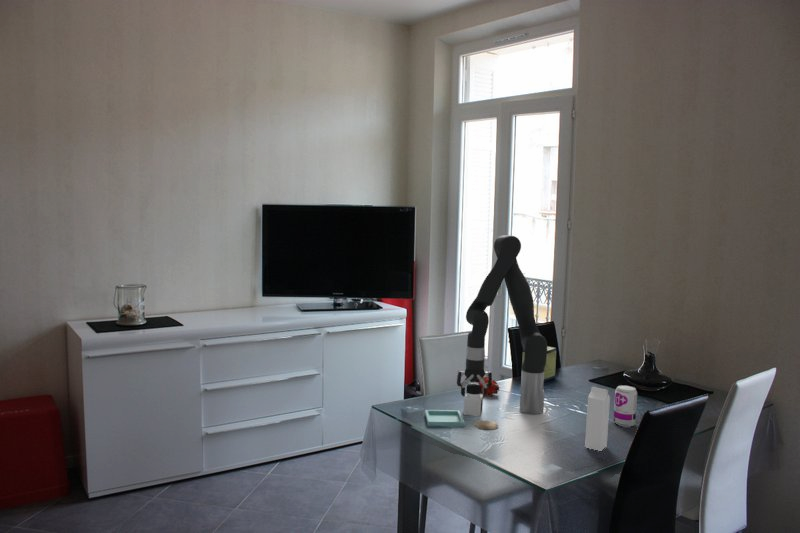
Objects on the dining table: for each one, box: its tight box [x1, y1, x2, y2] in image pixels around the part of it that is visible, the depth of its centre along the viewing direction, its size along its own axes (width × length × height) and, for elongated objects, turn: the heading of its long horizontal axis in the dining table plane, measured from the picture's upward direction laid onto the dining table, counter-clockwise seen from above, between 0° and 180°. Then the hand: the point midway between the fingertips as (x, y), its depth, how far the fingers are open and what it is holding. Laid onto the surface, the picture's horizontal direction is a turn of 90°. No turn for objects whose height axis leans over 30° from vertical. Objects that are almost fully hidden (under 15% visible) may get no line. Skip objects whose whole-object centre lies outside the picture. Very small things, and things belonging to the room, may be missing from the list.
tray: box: [424, 409, 465, 428], centre depth 262 cm, size 14×14×2 cm
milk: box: [584, 386, 611, 452], centre depth 237 cm, size 6×6×22 cm
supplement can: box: [613, 384, 638, 427], centre depth 263 cm, size 8×8×15 cm
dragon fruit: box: [477, 376, 500, 397], centre depth 298 cm, size 8×8×12 cm
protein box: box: [521, 345, 557, 383], centre depth 326 cm, size 10×16×16 cm
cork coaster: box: [474, 420, 499, 431], centre depth 257 cm, size 9×9×1 cm
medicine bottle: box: [463, 382, 484, 417], centre depth 272 cm, size 7×7×12 cm
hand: (473, 396), depth 271 cm, fingers closed on medicine bottle, 8 cm apart
